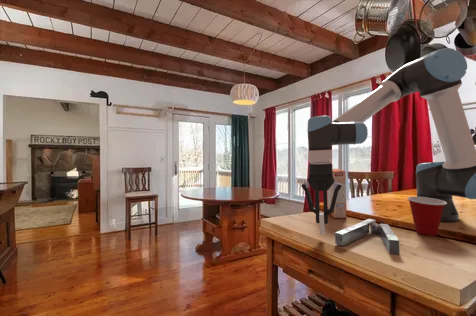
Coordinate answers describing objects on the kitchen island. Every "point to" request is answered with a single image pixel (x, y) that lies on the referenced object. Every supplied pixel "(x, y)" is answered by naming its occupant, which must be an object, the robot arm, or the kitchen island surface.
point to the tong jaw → (353, 232)
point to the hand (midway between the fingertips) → (322, 232)
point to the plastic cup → (426, 214)
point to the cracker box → (341, 196)
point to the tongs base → (387, 237)
